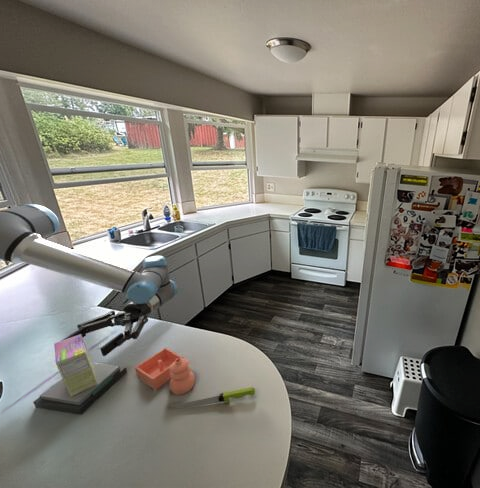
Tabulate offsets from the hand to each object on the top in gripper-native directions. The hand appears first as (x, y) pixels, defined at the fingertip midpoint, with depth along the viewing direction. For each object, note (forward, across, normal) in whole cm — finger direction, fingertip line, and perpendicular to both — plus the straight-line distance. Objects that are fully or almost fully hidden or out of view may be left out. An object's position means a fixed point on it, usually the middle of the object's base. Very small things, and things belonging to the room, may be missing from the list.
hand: (81, 349), depth 71 cm
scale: (+2, 0, -12) cm, 12 cm away
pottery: (-5, -22, -12) cm, 26 cm away
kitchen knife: (+1, -40, -12) cm, 42 cm away
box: (+2, 0, -9) cm, 9 cm away
